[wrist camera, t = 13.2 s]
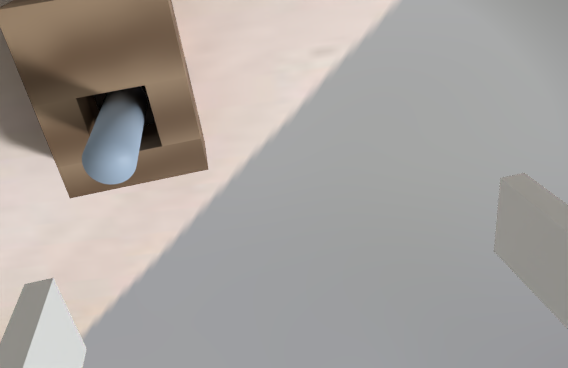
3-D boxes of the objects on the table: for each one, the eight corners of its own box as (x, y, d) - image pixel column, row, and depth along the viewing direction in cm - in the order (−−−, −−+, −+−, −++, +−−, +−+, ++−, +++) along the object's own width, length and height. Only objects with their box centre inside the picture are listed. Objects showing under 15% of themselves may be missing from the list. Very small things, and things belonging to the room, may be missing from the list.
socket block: (16, -2, 34) (-7, 10, 29) (164, -27, 35) (163, -19, 30) (81, 167, 40) (69, 198, 36) (204, 142, 41) (208, 169, 37)
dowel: (119, 73, 37) (98, 127, 28) (154, 95, 38) (146, 154, 29) (98, 105, 38) (72, 168, 28) (134, 125, 39) (120, 193, 30)
